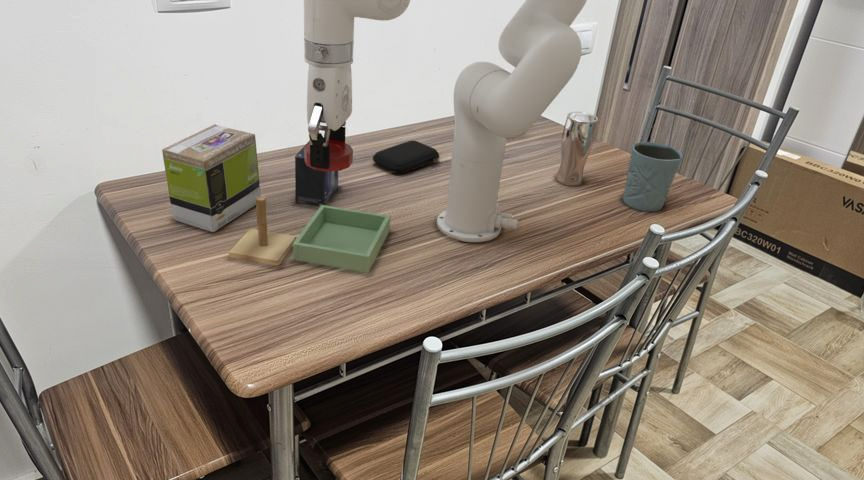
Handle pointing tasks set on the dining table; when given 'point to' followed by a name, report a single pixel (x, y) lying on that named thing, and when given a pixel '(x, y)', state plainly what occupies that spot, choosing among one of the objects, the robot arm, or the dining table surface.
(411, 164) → the carrying case
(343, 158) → the ring
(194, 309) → the dining table surface
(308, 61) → the robot arm
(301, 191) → the small box
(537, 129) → the dining table surface
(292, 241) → the peg stand
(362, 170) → the dining table surface
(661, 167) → the grey-green embossed cup
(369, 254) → the bin
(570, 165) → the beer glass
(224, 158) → the tea box
